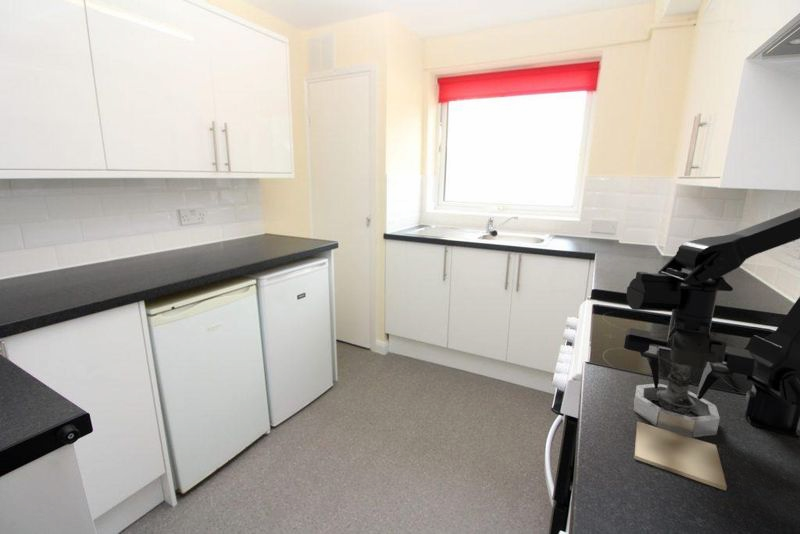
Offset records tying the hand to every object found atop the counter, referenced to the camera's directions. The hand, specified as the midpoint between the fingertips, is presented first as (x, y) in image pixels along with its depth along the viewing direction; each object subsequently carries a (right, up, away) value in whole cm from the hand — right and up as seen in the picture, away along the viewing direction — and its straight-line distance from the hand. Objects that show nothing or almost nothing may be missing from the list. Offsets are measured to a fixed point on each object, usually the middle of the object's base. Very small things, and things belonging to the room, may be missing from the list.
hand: (676, 392), depth 70 cm
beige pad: (-7, -6, -10) cm, 14 cm away
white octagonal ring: (0, -5, +1) cm, 5 cm away
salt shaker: (0, -5, +1) cm, 5 cm away
